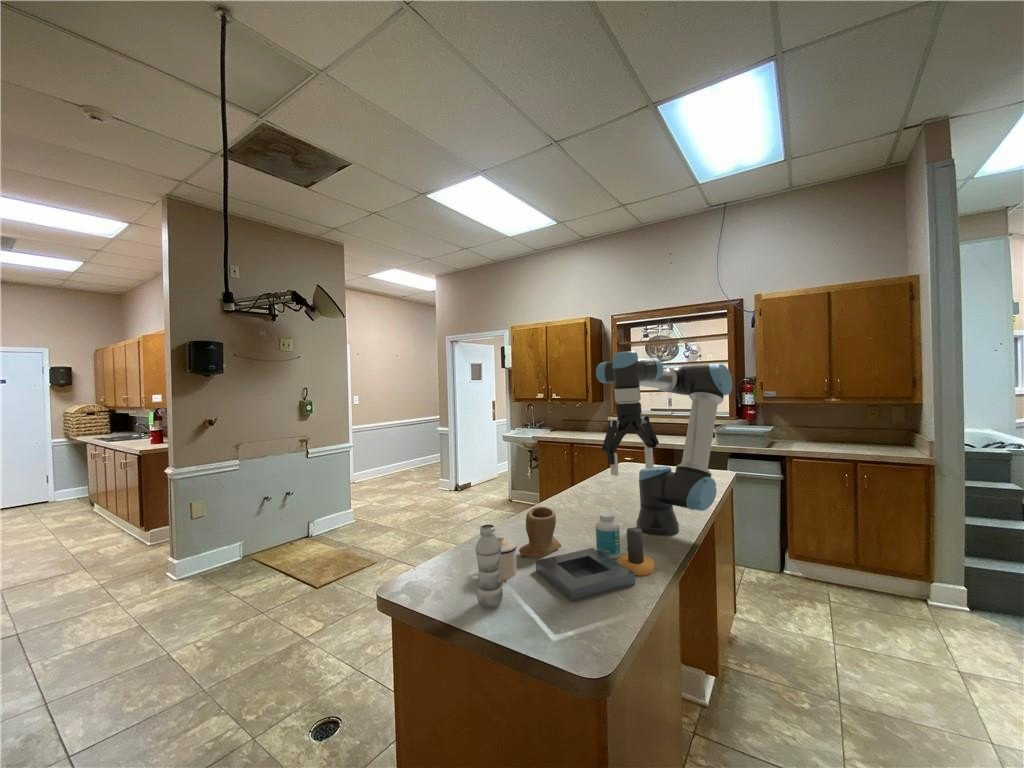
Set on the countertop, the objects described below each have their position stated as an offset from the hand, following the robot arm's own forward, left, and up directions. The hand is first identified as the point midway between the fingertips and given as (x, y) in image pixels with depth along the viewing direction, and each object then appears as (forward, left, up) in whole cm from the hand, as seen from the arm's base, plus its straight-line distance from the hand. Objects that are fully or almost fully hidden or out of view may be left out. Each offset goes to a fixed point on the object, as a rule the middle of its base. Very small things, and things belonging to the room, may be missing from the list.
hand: (632, 471), depth 125 cm
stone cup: (+21, -22, -28) cm, 41 cm away
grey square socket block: (+20, +1, -28) cm, 35 cm away
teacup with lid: (+40, -14, -28) cm, 51 cm away
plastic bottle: (+48, +1, -28) cm, 56 cm away
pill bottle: (+4, -9, -28) cm, 30 cm away
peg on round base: (+3, +3, -28) cm, 29 cm away
